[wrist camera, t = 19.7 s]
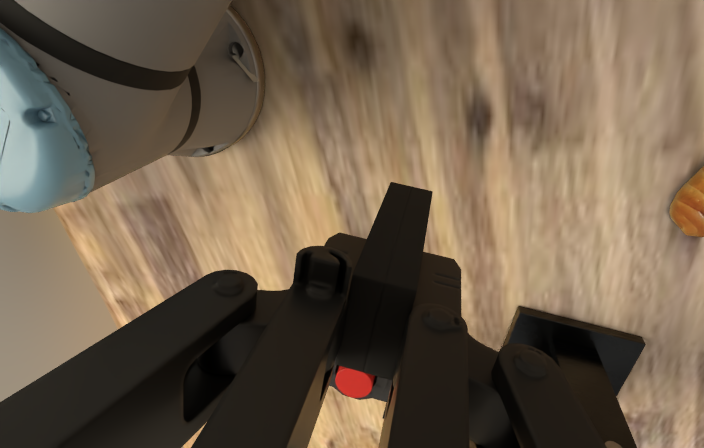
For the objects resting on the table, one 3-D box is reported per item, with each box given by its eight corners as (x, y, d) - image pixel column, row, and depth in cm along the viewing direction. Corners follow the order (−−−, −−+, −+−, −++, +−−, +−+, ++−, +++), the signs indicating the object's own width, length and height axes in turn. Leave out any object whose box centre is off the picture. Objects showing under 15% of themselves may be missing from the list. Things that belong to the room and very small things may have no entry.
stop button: (336, 380, 51) (332, 392, 49) (341, 353, 49) (338, 364, 48) (371, 390, 50) (368, 402, 49) (378, 363, 49) (375, 374, 47)
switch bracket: (492, 371, 50) (505, 509, 36) (518, 305, 47) (543, 431, 32) (605, 402, 49) (663, 558, 35) (641, 336, 45) (724, 482, 31)
